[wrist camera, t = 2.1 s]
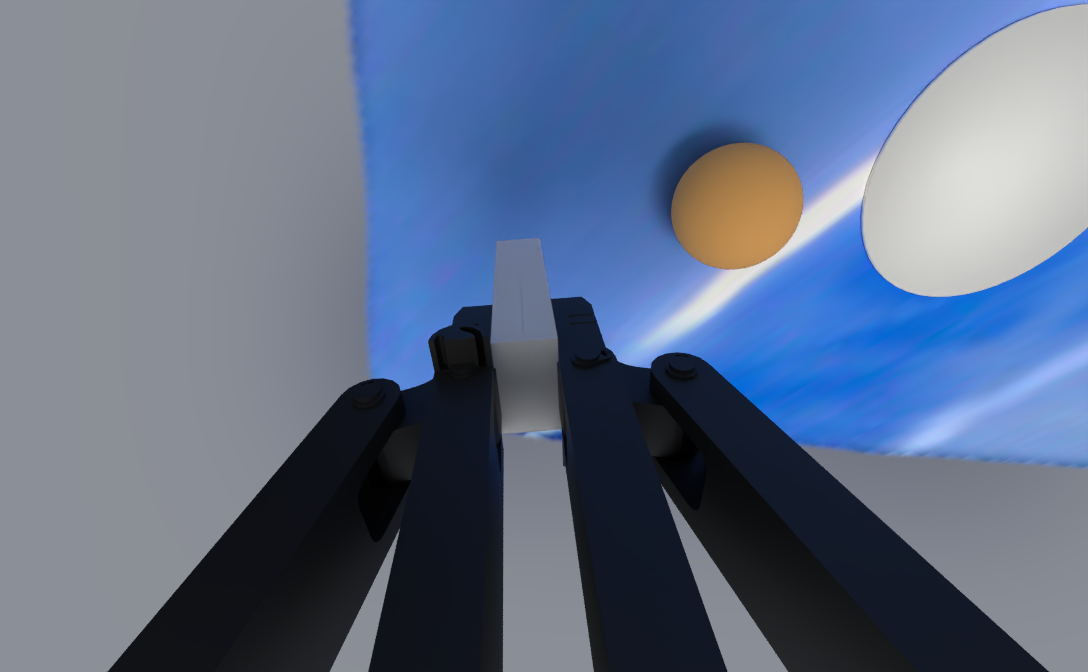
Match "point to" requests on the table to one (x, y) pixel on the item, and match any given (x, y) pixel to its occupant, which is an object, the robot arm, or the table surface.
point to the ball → (737, 205)
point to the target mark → (986, 163)
